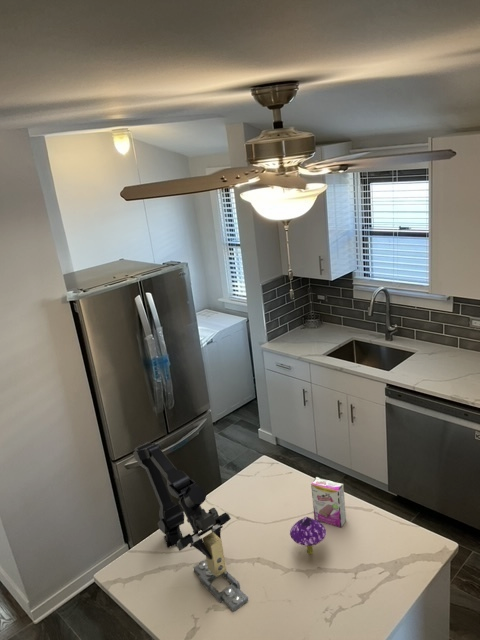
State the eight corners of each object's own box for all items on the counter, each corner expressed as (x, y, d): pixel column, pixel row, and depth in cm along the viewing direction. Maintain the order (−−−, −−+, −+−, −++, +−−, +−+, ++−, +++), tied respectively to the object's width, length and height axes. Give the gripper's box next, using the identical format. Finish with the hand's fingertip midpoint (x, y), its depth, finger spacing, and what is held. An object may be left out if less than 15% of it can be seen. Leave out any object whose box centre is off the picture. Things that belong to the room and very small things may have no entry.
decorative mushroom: (311, 535, 190) (307, 500, 185) (335, 553, 180) (332, 517, 176) (285, 553, 183) (280, 517, 179) (309, 572, 173) (305, 535, 169)
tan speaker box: (207, 568, 172) (202, 537, 168) (217, 562, 174) (212, 531, 171) (216, 577, 168) (211, 545, 164) (226, 570, 170) (221, 539, 167)
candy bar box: (313, 520, 197) (310, 483, 193) (319, 512, 201) (315, 476, 196) (341, 528, 191) (338, 490, 186) (346, 520, 195) (343, 483, 190)
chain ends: (191, 572, 180) (190, 566, 179) (210, 560, 184) (209, 554, 184) (230, 613, 162) (229, 607, 161) (251, 599, 166) (250, 592, 165)
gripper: (175, 518, 162) (199, 566, 157) (223, 491, 172) (248, 535, 167) (167, 527, 171) (189, 572, 166) (213, 501, 181) (236, 543, 176)
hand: (216, 555), depth 168 cm, fingers closed on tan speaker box, 4 cm apart
